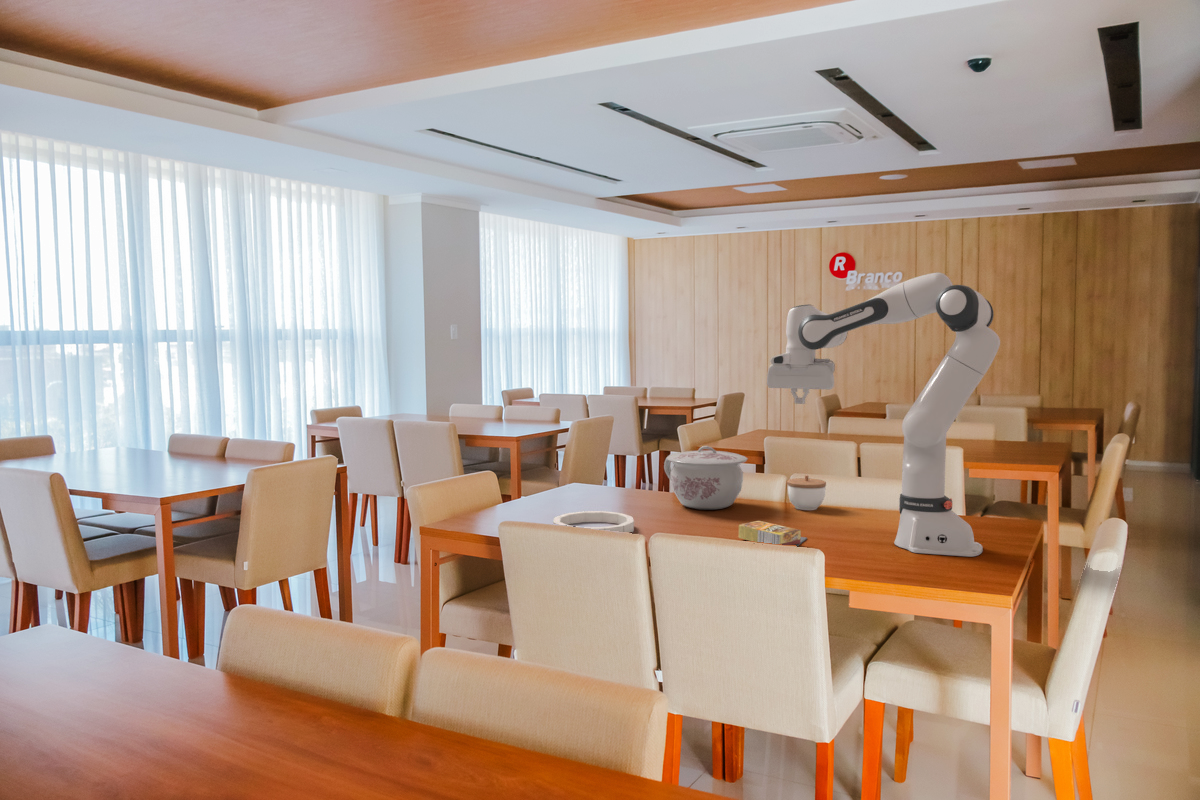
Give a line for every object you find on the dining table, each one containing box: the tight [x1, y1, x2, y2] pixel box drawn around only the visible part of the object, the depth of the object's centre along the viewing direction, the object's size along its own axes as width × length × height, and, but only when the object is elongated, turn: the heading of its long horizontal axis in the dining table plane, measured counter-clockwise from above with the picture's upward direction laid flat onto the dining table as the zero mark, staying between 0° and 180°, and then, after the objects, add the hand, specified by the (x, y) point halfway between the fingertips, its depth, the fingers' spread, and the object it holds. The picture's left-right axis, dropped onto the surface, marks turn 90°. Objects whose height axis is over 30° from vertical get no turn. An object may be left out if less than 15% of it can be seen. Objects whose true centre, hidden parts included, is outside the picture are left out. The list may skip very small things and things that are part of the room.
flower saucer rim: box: [552, 510, 635, 533], centre depth 260 cm, size 24×24×3 cm
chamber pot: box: [663, 445, 748, 511], centre depth 293 cm, size 28×28×21 cm
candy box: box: [738, 520, 802, 545], centre depth 242 cm, size 9×4×15 cm
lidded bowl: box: [786, 475, 827, 511], centre depth 288 cm, size 13×13×11 cm
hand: (799, 403), depth 264 cm, fingers closed
